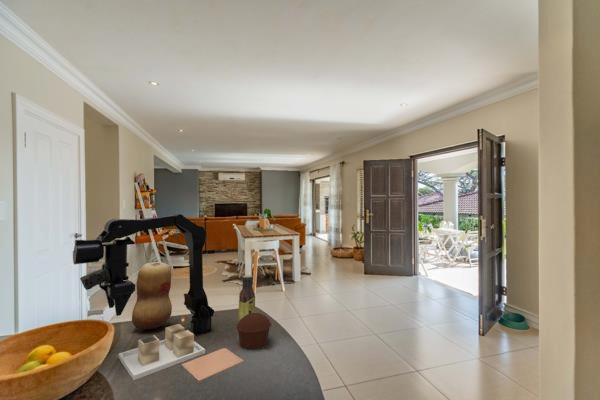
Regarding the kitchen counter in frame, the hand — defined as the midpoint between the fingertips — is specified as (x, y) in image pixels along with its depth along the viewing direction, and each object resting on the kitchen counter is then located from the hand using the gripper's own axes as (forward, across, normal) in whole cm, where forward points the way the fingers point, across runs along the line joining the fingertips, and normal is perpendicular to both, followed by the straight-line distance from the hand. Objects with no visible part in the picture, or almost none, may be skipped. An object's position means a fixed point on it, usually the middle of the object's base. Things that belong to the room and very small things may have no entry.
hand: (114, 311), depth 86 cm
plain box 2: (+14, +12, +16) cm, 25 cm away
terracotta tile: (+15, +24, +20) cm, 34 cm away
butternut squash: (+15, -16, +16) cm, 27 cm away
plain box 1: (+14, +5, +16) cm, 22 cm away
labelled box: (+14, +9, +7) cm, 18 cm away
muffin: (+15, +22, +36) cm, 45 cm away
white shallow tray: (+15, +9, +11) cm, 20 cm away
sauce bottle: (+15, +9, +42) cm, 45 cm away
